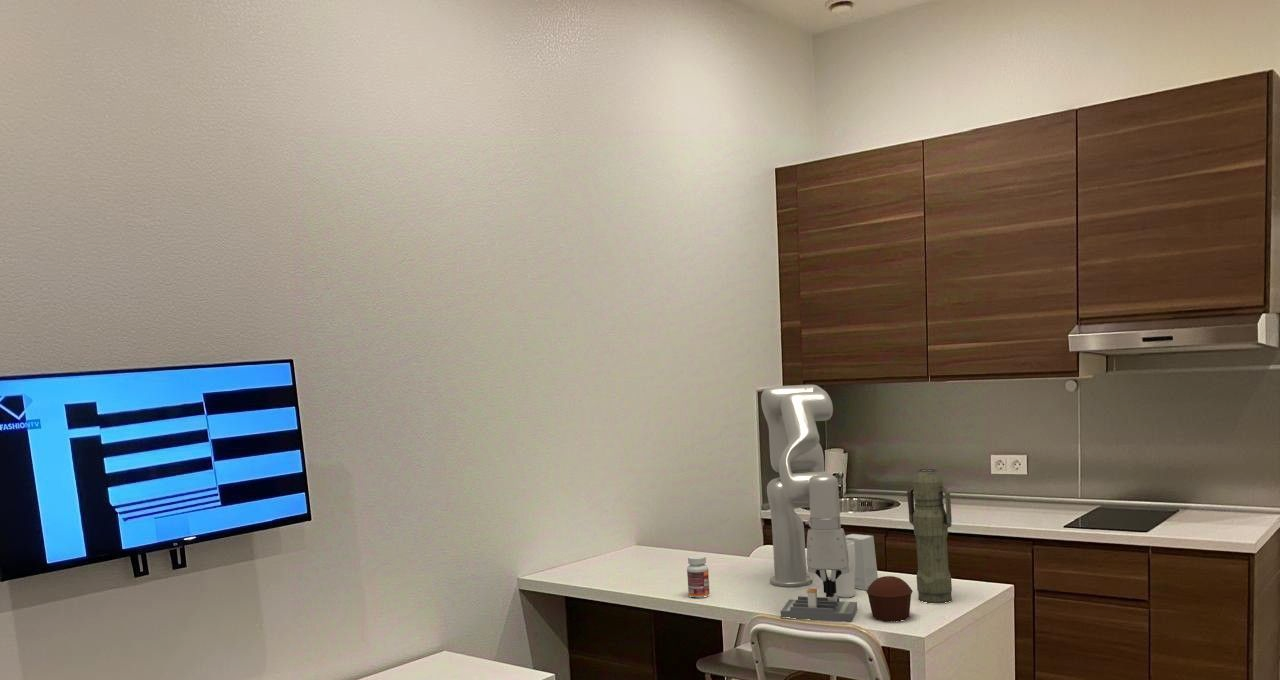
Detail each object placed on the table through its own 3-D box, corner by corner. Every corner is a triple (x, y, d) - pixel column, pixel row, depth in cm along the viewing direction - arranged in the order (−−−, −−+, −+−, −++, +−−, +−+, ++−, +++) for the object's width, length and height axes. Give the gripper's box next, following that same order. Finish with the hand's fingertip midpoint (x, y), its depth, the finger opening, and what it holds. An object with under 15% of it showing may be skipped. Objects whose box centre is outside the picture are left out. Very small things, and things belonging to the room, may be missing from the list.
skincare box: (879, 587, 264) (876, 535, 265) (865, 591, 261) (862, 538, 261) (856, 582, 271) (853, 532, 272) (842, 586, 267) (839, 535, 268)
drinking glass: (840, 591, 261) (836, 539, 262) (861, 594, 257) (858, 540, 258) (828, 597, 256) (825, 543, 257) (850, 600, 252) (847, 545, 252)
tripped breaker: (809, 607, 238) (808, 588, 238) (817, 607, 237) (816, 588, 237) (808, 610, 235) (807, 590, 236) (816, 610, 235) (815, 590, 235)
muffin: (895, 626, 225) (892, 585, 225) (858, 618, 233) (856, 578, 234) (923, 616, 232) (920, 576, 233) (886, 609, 241) (884, 570, 241)
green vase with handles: (919, 593, 254) (911, 467, 256) (962, 598, 247) (953, 468, 248) (907, 601, 248) (899, 471, 249) (950, 606, 240) (942, 472, 242)
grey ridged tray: (789, 606, 248) (788, 582, 248) (857, 609, 242) (855, 584, 242) (780, 618, 237) (779, 592, 237) (851, 621, 230) (850, 595, 231)
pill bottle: (709, 598, 262) (707, 558, 262) (687, 599, 262) (685, 559, 263) (709, 593, 268) (707, 554, 268) (688, 593, 268) (686, 555, 269)
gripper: (794, 526, 234) (798, 598, 233) (853, 526, 229) (858, 600, 228) (799, 521, 242) (803, 592, 241) (857, 521, 236) (861, 593, 235)
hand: (830, 595), depth 234 cm, fingers closed
